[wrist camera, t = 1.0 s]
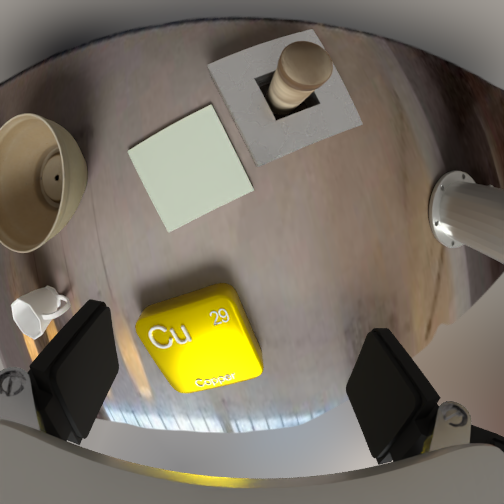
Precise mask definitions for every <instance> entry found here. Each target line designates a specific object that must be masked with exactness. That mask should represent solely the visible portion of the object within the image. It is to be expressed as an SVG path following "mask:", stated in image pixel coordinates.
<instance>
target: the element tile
mask: <svg viewBox="0 0 504 504" xmlns="http://www.w3.org/2000/svg"><path fill="white" fill-rule="evenodd" d="M135 328H136V333H137V335H138V336H139V338H140V340H141V341H142V343H143V344H144V346H145V348H146V349H147V351H148V352H149V354H150V355H151V357H152V358H153V360H154V361H155V363H156V364H157V366H158V367H159V369H160V370H161V372H162V373H163V375H164V376H165V378H166V379H167V380H168V382H169V383H170V385H171V386H172V387H173V388H174V389H175V390H176V391H178V392H180V393H193V392H198V391H203V390H208V389H212V388H217V387H221V386H226V385H230V384H234V383H238V382H242V381H246V380H250V379H253V378H256V377H258V376H259V375H261V374H262V372H263V368H264V367H263V359H262V351H261V348H260V346H259V344H258V341H257V339H256V337H255V334H254V332H253V330H252V327H251V325H250V323H249V320H248V318H247V316H246V313H245V311H244V308H243V306H242V304H241V301H240V299H239V296H238V294H237V292H236V290H235V289H234V288H233V287H232V286H231V285H229V284H226V283H219V284H214V285H211V286H208V287H205V288H202V289H199V290H196V291H193V292H190V293H187V294H184V295H181V296H178V297H175V298H171V299H168V300H165V301H162V302H159V303H156V304H153V305H150V306H148V307H146V308H145V309H144V310H143V312H142V314H141V315H140V317H139V319H138V320H137V322H136V325H135Z"/></svg>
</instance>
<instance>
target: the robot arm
mask: <svg viewBox="0 0 504 504" xmlns="http://www.w3.org/2000/svg"><path fill="white" fill-rule="evenodd" d="M429 221H430V226H431V229H432V232H433V234H434V236H435V238H436V239H437V240H438V241H439V242H440V243H441V244H443V245H445V246H447V247H449V248H457V247H460V246H462V245H464V244H465V245H467V246H469V247H471V248H473V249H475V250H477V251H479V252H481V253H483V254H485V255H487V256H489V257H491V258H493V259H495V260H497V261H499V262H501V263H503V264H504V189H499V188H495V187H493V186H492V185H488V186H485V185H480V184H476V183H475V182H474V180H473V179H472V178H471V177H470V176H469V175H468V174H467V173H465V172H462V171H450V172H448V173H446V174H444V175H443V176H442V177H441V178H440V179H439V180H438V182H437V183H436V185H435V187H434V189H433V192H432V195H431V199H430V203H429ZM118 369H119V364H118V358H117V353H116V347H115V341H114V334H113V328H112V320H111V312H110V308H109V307H106V304H105V303H104V302H101V301H96V300H89V301H87V302H86V303H85V305H84V306H83V307H82V308H81V309H80V310H79V311H78V312H77V313H76V314H75V315H74V316H73V317H72V318H71V319H70V320H69V321H68V323H67V324H66V325H65V326H64V327H63V328H62V329H61V330H60V331H59V332H58V333H57V335H56V336H55V337H54V338H53V339H52V340H51V341H50V342H49V344H48V345H47V346H46V347H45V348H44V349H43V351H42V352H41V353H40V354H39V355H38V356H37V358H36V359H35V360H34V361H33V362H32V364H31V365H30V370H29V372H28V373H27V372H26V371H25V370H23V369H21V368H17V367H9V368H6V369H3V370H2V371H0V504H504V437H502V436H500V435H498V434H496V433H493V432H490V431H487V430H484V429H482V428H479V427H476V426H473V425H471V416H470V414H469V412H468V410H467V409H466V408H465V407H464V406H462V405H461V404H459V403H457V402H453V401H446V402H444V403H442V404H441V405H440V406H438V405H437V402H438V401H439V399H440V397H439V395H438V394H437V392H436V391H435V389H434V388H433V387H432V385H431V384H430V383H429V381H428V380H427V378H426V377H425V376H424V374H423V373H422V372H421V370H420V369H419V368H418V366H417V365H416V364H415V362H414V361H413V360H412V358H411V357H410V356H409V354H408V353H407V352H406V350H405V349H404V348H403V347H402V345H401V344H400V343H399V341H398V340H397V339H396V338H395V336H394V335H393V334H392V332H391V331H390V330H389V329H387V328H374V329H373V330H372V331H371V332H369V333H368V334H367V336H366V339H365V341H364V344H363V347H362V349H361V352H360V354H359V357H358V359H357V362H356V364H355V366H354V369H353V371H352V374H351V376H350V378H349V380H348V383H347V386H346V392H347V395H348V397H349V400H350V402H351V405H352V407H353V410H354V412H355V414H356V417H357V419H358V422H359V424H360V427H361V429H362V432H363V434H364V437H365V439H366V442H367V445H368V447H369V450H370V452H371V455H372V456H373V457H374V458H376V459H377V462H378V464H383V463H387V462H391V461H392V460H393V462H391V463H388V464H383V465H379V466H374V467H370V468H365V469H360V470H354V471H348V472H342V473H335V474H328V475H320V476H310V477H297V478H276V479H249V478H247V479H246V478H227V477H213V476H203V475H196V474H188V473H181V472H174V471H169V470H163V469H158V468H153V467H149V466H144V465H140V464H136V463H132V462H128V461H124V460H121V459H117V458H114V457H110V456H107V455H104V454H101V453H97V452H94V451H91V450H88V449H85V448H82V447H80V446H77V445H74V444H72V443H69V442H67V440H68V441H71V442H74V443H76V444H78V445H80V443H81V440H82V438H84V439H85V438H86V437H87V436H88V434H89V431H90V430H91V428H92V425H93V423H94V421H95V419H96V417H97V414H98V412H99V410H100V408H101V406H102V404H103V402H104V400H105V398H106V396H107V393H108V391H109V389H110V387H111V385H112V383H113V381H114V379H115V377H116V375H117V373H118Z"/></svg>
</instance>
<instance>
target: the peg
mask: <svg viewBox="0 0 504 504" xmlns="http://www.w3.org/2000/svg"><path fill="white" fill-rule="evenodd" d="M332 71H333V64H332V60H331V58H330V56H329V54H328V53H327V52H326V51H325V50H324V49H323V48H322V47H320V46H319V45H317V44H315V43H312V42H308V41H297V42H293V43H291V44H289V45H288V46H286V47H285V48H284V50H283V51H282V53H281V55H280V58H279V60H278V65H277V68H276V71H275V73H274V76H273V78H272V81H271V83H270V86H269V88H268V91H267V93H266V96H265V100H266V102H267V104H268V106H269V107H270V109H271V111H272V112H273V113H275V114H277V115H287V114H289V113H291V112H292V111H293V110H294V109H296V108H297V107H298V106H299V105H300V104H301V103H302V102H303V101H304V100H305V99H306V98H307V97H308V96H309V95H310V94H311V93H312V92H313V91H315V90H316V89H318V88H319V87H321V86H322V85H323V84H324V83H325V82H326V81H327V80H328V79H329V78H330V76H331V74H332Z"/></svg>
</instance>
